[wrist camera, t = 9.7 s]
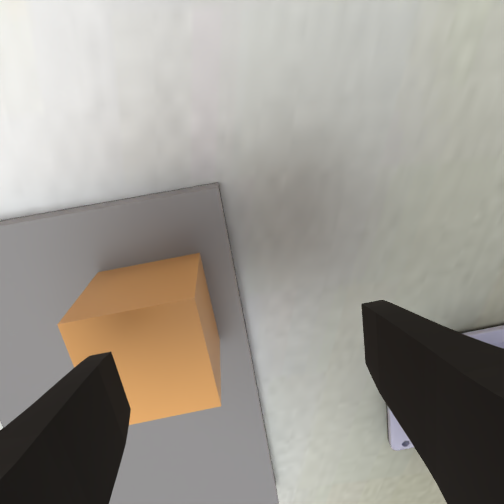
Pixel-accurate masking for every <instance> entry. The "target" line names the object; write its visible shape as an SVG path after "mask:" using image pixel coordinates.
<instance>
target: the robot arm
mask: <svg viewBox="0 0 504 504" xmlns="http://www.w3.org/2000/svg"><path fill="white" fill-rule="evenodd" d="M362 317H363V332H364V346H365V361H366V365H367V367H368V369H369V372H370V374H371V376H372V378H373V380H374V382H375V384H376V386H377V388H378V391H379V393H380V394H381V396H382V398H383V399H384V401H385V402H386V404H387V411H388V432H389V444H390V446H391V448H392V449H393V450H403V449H408V448H412V447H415V449H416V450H417V452H418V453H419V455H420V457H421V458H422V460H423V461H424V463H425V464H426V466H427V468H428V469H429V471H430V473H431V474H432V476H433V478H434V479H435V481H436V483H437V485H438V487H439V489H440V490H441V492H442V494H443V496H444V498H445V500H446V502H447V504H504V325H502V326H497V327H492V328H487V329H482V330H476V331H471V332H466V333H459V332H457V331H454V330H452V329H449V328H447V327H444V326H442V325H440V324H437V323H435V322H433V321H430V320H428V319H426V318H424V317H421V316H419V315H417V314H415V313H413V312H410V311H408V310H406V309H404V308H401V307H399V306H397V305H394V304H392V303H390V302H387V301H384V300H379V301H374V302H369V303H363V304H362ZM130 412H131V408H130V405H129V402H128V399H127V396H126V394H125V391H124V388H123V385H122V382H121V379H120V376H119V373H118V370H117V367H116V364H115V361H114V358H113V355H112V352H106V353H101V354H96V355H91V356H89V357H87V358H86V359H84V360H83V361H82V362H80V363H79V364H78V365H77V366H76V367H74V368H73V369H72V370H71V371H70V372H69V373H67V374H66V375H65V376H64V377H63V378H62V379H61V380H59V381H58V382H57V383H56V384H55V385H54V386H53V387H51V388H50V389H49V390H48V391H47V392H46V393H45V394H43V395H42V396H41V397H40V398H39V399H38V400H37V401H35V402H34V403H33V404H32V405H31V406H30V407H28V408H27V409H26V410H25V411H24V412H22V413H21V414H20V415H19V416H17V417H16V418H15V419H14V420H13V421H11V422H10V423H9V424H8V425H6V426H5V427H4V428H3V429H2V430H0V504H109V502H110V498H111V495H112V491H113V488H114V484H115V481H116V478H117V474H118V471H119V467H120V463H121V460H122V456H123V453H124V449H125V445H126V440H127V434H128V427H129V420H130Z"/></svg>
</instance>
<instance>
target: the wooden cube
mask: <svg viewBox="0 0 504 504" xmlns="http://www.w3.org/2000/svg"><path fill="white" fill-rule="evenodd" d="M57 325H58V328H59V330H60V333H61V335H62V338H63V340H64V343H65V345H66V348H67V350H68V353H69V356H70V358H71V361H72V363H73V366H74V367H76V366H77V365H78V364H79V363H80V362H82V361H83V360H84V359H86V358H87V357H89V356H91V355H96V354H101V353H106V352H112V355H113V358H114V361H115V364H116V367H117V370H118V373H119V376H120V379H121V382H122V385H123V388H124V391H125V394H126V396H127V399H128V402H129V405H130V408H131V412H130V420H129V425H132V424H137V423H142V422H147V421H152V420H157V419H162V418H166V417H171V416H176V415H181V414H186V413H191V412H196V411H200V410H205V409H210V408H215V407H220V406H221V370H220V338H219V334H218V330H217V325H216V321H215V317H214V312H213V308H212V304H211V299H210V295H209V291H208V286H207V282H206V278H205V274H204V269H203V265H202V261H201V256H200V253H196V254H190V255H185V256H180V257H175V258H170V259H164V260H159V261H154V262H149V263H143V264H138V265H133V266H128V267H123V268H117V269H112V270H107V271H102V272H98V273H97V274H96V275H95V277H94V278H93V279H92V280H91V282H90V283H89V284H88V286H87V287H86V288H85V289H84V291H83V292H82V293H81V295H80V296H79V297H78V299H77V300H76V301H75V302H74V304H73V305H72V306H71V308H70V309H69V310H68V311H67V313H66V314H65V315H64V317H63V318H62V319H61V320H60V322H59V323H58V324H57Z"/></svg>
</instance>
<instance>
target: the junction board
mask: <svg viewBox="0 0 504 504" xmlns="http://www.w3.org/2000/svg"><path fill="white" fill-rule="evenodd" d="M196 253H200V256H201V261H202V265H203V269H204V274H205V278H206V282H207V286H208V291H209V295H210V299H211V304H212V308H213V312H214V317H215V321H216V325H217V330H218V334H219V338H220V370H221V406H220V407H215V408H210V409H205V410H200V411H196V412H191V413H186V414H181V415H176V416H171V417H166V418H162V419H157V420H152V421H147V422H142V423H137V424H132V425H129V427H128V434H127V440H126V445H125V449H124V453H123V456H122V460H121V463H120V467H119V471H118V474H117V478H116V481H115V484H114V488H113V491H112V495H111V498H110V502H109V504H279V501H278V495H277V489H276V484H275V478H274V473H273V468H272V463H271V457H270V452H269V447H268V442H267V436H266V431H265V426H264V421H263V416H262V410H261V405H260V400H259V395H258V389H257V384H256V379H255V374H254V368H253V363H252V358H251V353H250V348H249V342H248V337H247V332H246V327H245V321H244V316H243V311H242V306H241V300H240V295H239V290H238V285H237V280H236V274H235V269H234V264H233V259H232V253H231V248H230V243H229V238H228V232H227V227H226V222H225V217H224V211H223V206H222V201H221V196H220V191H219V185H218V183H212V184H207V185H201V186H195V187H190V188H184V189H178V190H173V191H167V192H161V193H156V194H150V195H144V196H139V197H133V198H128V199H122V200H116V201H111V202H105V203H99V204H94V205H88V206H82V207H77V208H71V209H65V210H60V211H54V212H48V213H43V214H37V215H31V216H26V217H20V218H14V219H9V220H3V221H0V422H1V424H2V426H3V428H4V427H5V426H6V425H8V424H9V423H10V422H11V421H13V420H14V419H15V418H16V417H17V416H19V415H20V414H21V413H22V412H24V411H25V410H26V409H27V408H28V407H30V406H31V405H32V404H33V403H34V402H35V401H37V400H38V399H39V398H40V397H41V396H42V395H43V394H45V393H46V392H47V391H48V390H49V389H50V388H51V387H53V386H54V385H55V384H56V383H57V382H58V381H59V380H61V379H62V378H63V377H64V376H65V375H66V374H67V373H69V372H70V371H71V370H72V369H73V368H74V366H73V363H72V361H71V358H70V356H69V353H68V350H67V348H66V345H65V343H64V340H63V338H62V335H61V333H60V330H59V328H58V325H57V324H58V323H59V322H60V320H61V319H62V318H63V317H64V315H65V314H66V313H67V311H68V310H69V309H70V308H71V306H72V305H73V304H74V302H75V301H76V300H77V299H78V297H79V296H80V295H81V293H82V292H83V291H84V289H85V288H86V287H87V286H88V284H89V283H90V282H91V280H92V279H93V278H94V277H95V275H96V274H97V273H98V272H102V271H107V270H112V269H117V268H123V267H128V266H133V265H138V264H143V263H149V262H154V261H159V260H164V259H170V258H175V257H180V256H185V255H190V254H196Z"/></svg>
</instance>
